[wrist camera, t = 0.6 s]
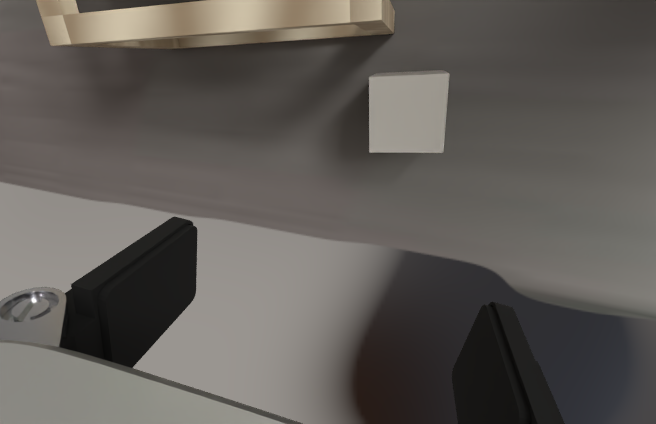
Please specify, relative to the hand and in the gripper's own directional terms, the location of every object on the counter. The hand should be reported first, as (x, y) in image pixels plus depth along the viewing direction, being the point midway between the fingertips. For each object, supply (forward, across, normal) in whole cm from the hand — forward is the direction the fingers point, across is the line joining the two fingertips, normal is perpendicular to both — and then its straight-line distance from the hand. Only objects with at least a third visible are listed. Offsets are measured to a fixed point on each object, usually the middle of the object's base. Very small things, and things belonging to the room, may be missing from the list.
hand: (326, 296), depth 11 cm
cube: (+22, -2, -4) cm, 22 cm away
